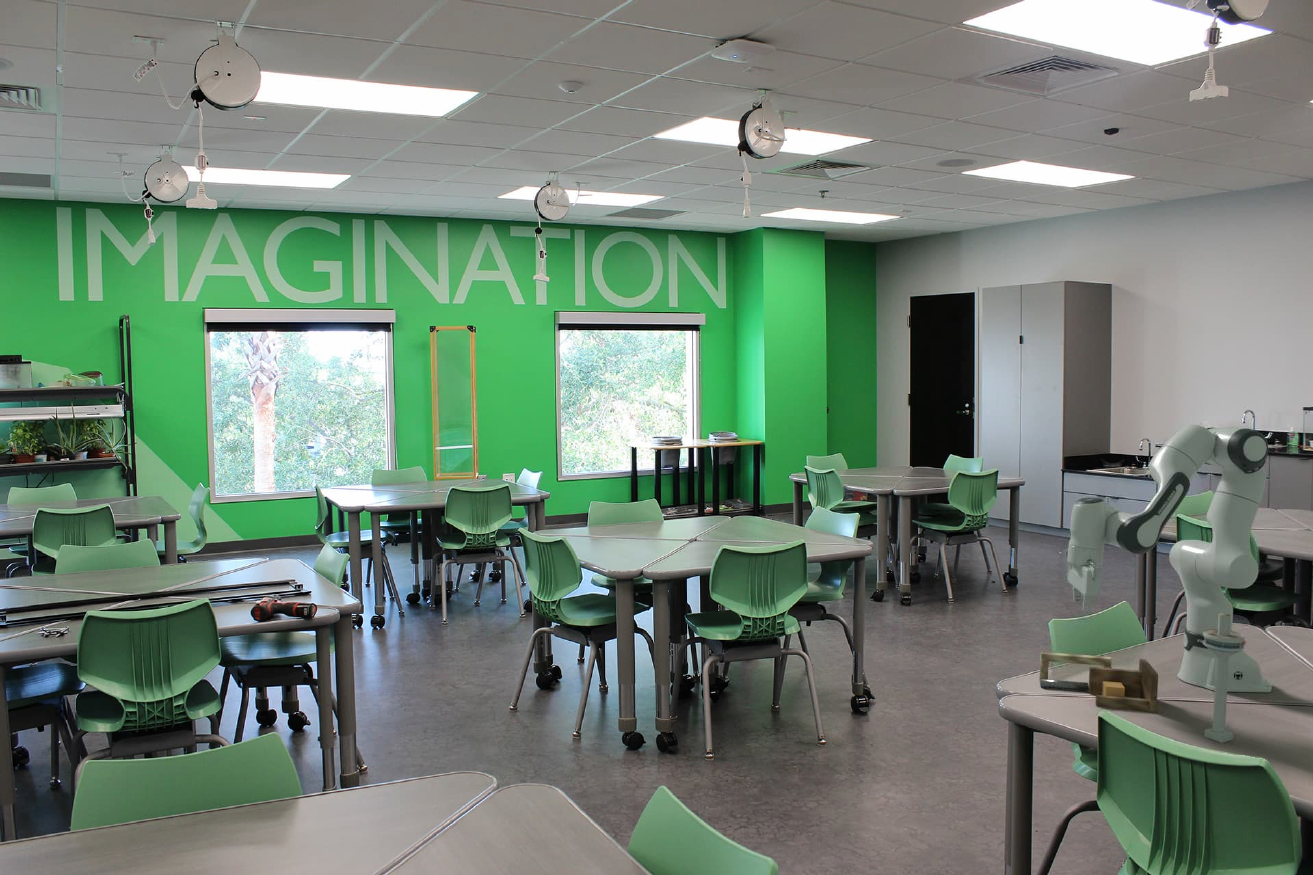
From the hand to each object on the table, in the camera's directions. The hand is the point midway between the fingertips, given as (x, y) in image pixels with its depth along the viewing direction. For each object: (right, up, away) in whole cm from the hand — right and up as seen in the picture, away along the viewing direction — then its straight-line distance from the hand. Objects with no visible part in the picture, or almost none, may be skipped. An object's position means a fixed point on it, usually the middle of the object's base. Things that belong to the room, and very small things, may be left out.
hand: (1081, 606), depth 260 cm
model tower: (+17, -25, -35) cm, 46 cm away
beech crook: (0, -22, +4) cm, 23 cm away
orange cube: (+4, -23, -10) cm, 26 cm away
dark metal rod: (-5, -23, 0) cm, 23 cm away
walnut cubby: (+6, -23, -10) cm, 26 cm away
